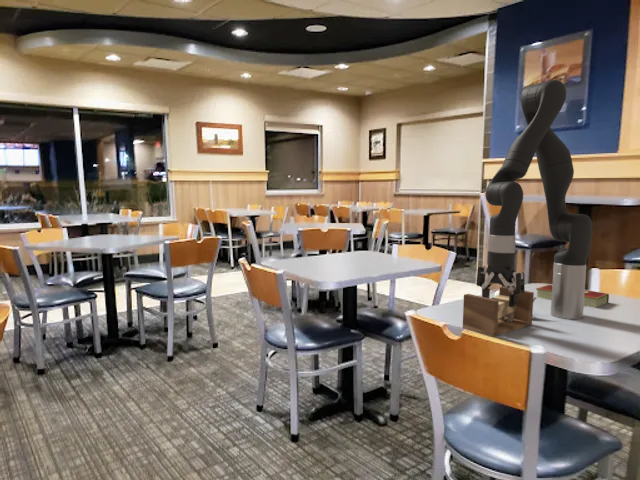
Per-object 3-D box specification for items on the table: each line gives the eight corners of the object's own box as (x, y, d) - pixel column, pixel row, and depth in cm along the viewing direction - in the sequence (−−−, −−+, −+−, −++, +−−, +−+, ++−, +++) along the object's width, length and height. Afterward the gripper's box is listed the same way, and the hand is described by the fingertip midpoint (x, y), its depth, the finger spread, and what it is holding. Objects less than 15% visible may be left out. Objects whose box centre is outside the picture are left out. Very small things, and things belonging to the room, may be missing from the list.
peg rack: (501, 317, 143) (503, 286, 142) (531, 324, 135) (533, 292, 134) (462, 327, 132) (463, 294, 130) (492, 336, 123) (494, 301, 122)
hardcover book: (548, 293, 178) (549, 283, 178) (608, 304, 162) (609, 292, 162) (535, 298, 170) (535, 287, 170) (596, 309, 154) (597, 297, 154)
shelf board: (496, 319, 126) (496, 305, 126) (479, 316, 130) (479, 302, 129) (515, 310, 136) (516, 297, 135) (499, 307, 139) (500, 294, 139)
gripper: (472, 248, 134) (470, 300, 136) (516, 253, 123) (513, 311, 125) (487, 246, 139) (485, 297, 140) (531, 251, 127) (528, 307, 129)
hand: (498, 303), depth 132 cm, fingers open, 8 cm apart
